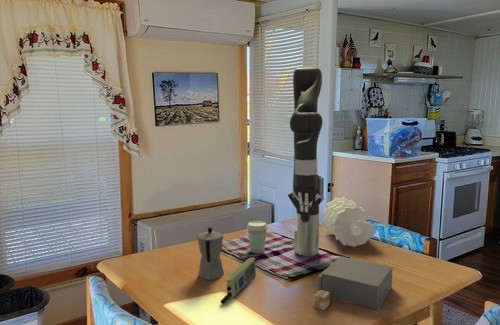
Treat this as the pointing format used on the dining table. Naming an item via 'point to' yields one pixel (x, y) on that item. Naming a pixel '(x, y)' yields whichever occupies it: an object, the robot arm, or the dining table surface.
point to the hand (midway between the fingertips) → (305, 221)
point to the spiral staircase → (347, 222)
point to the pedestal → (321, 299)
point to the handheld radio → (240, 278)
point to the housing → (358, 282)
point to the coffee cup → (257, 236)
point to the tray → (321, 280)
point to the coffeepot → (210, 255)
